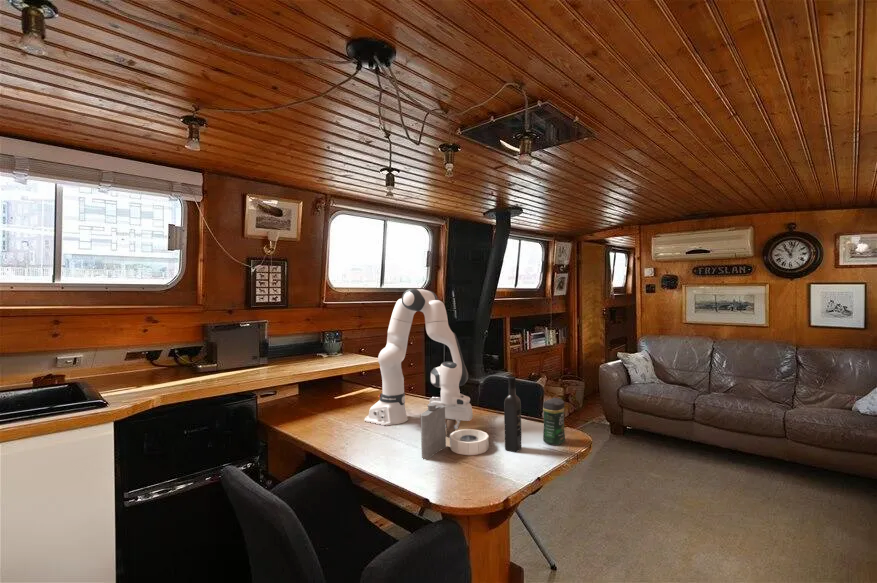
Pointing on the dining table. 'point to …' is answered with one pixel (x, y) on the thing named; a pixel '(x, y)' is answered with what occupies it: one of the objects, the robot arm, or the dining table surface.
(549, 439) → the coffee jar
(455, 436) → the white ring base
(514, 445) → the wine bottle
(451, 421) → the walnut peg
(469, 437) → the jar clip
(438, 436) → the hip flask
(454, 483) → the dining table surface
